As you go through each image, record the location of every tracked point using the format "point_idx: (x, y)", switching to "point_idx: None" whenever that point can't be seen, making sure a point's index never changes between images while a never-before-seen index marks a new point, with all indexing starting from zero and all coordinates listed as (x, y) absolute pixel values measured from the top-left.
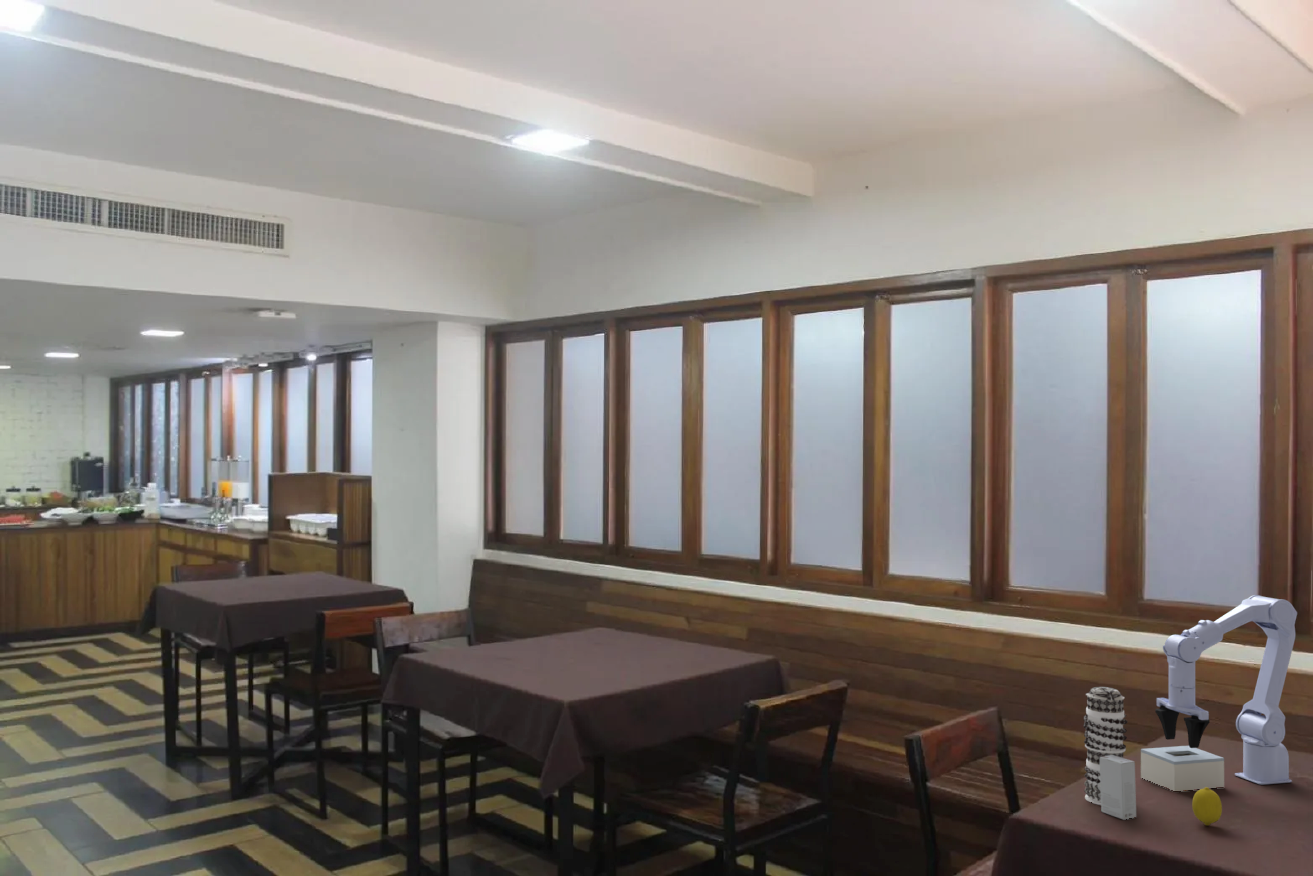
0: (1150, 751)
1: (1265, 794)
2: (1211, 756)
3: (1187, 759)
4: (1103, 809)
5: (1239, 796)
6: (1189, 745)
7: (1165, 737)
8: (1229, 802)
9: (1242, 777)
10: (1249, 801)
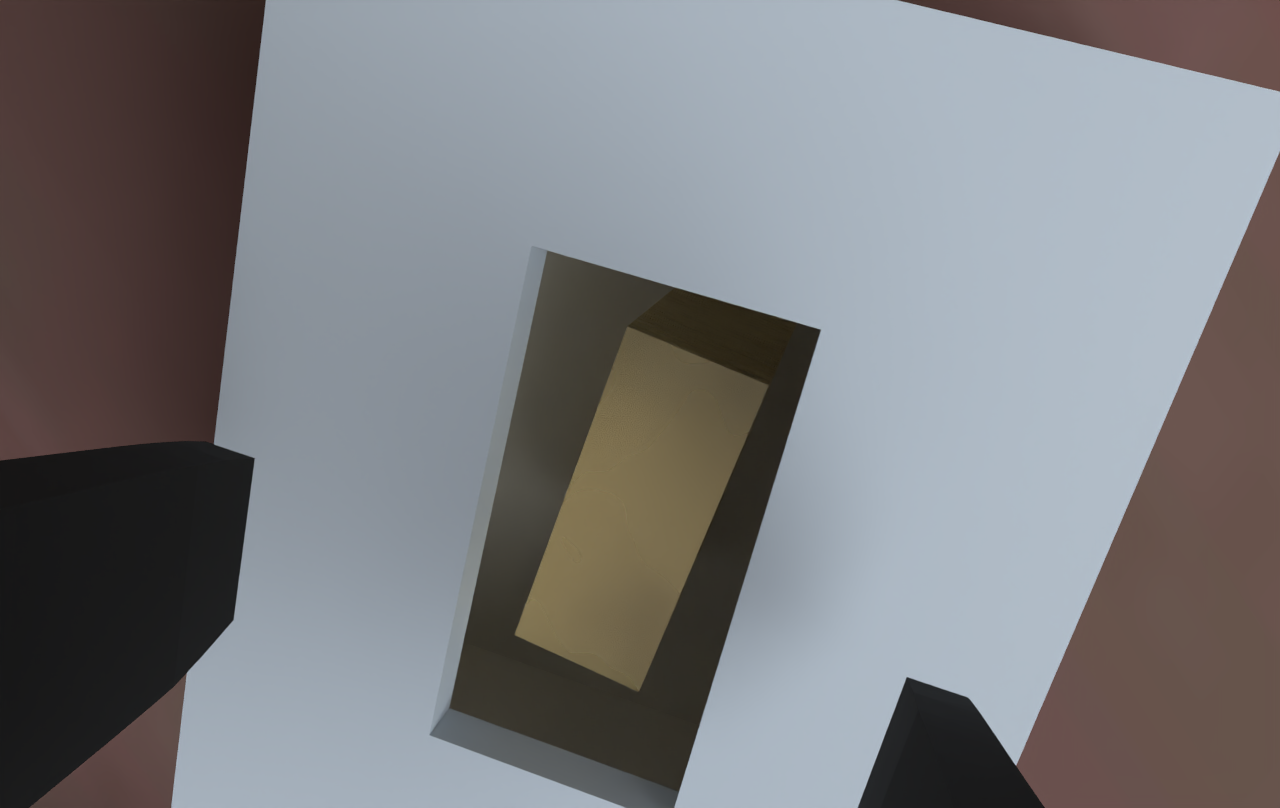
0: (1028, 111)
1: (115, 751)
2: (284, 775)
3: (300, 255)
4: None
5: None
6: (215, 459)
7: (970, 705)
8: (43, 200)
9: None
10: (13, 417)
